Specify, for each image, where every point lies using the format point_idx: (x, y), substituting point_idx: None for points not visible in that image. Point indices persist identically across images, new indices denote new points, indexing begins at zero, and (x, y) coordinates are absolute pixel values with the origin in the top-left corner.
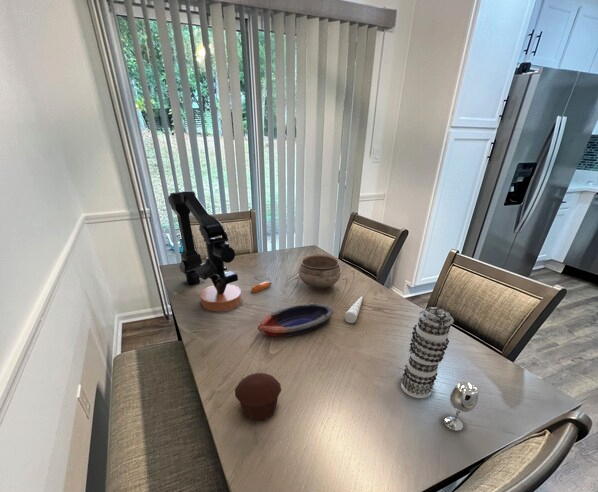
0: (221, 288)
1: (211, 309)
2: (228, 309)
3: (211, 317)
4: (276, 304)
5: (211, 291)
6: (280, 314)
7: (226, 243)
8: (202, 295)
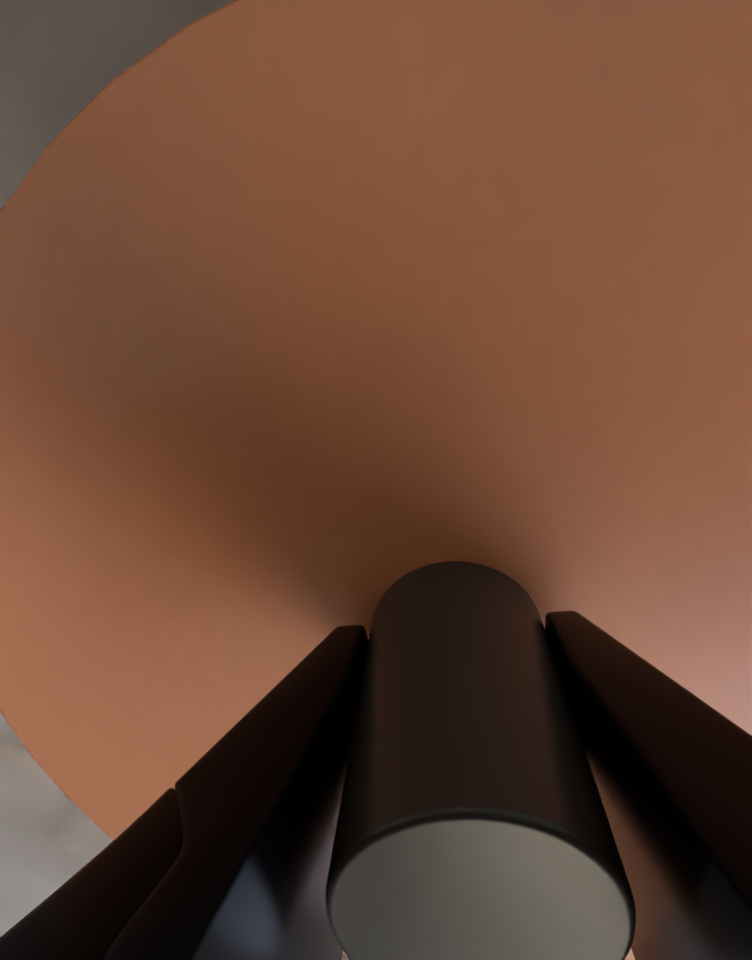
0: (218, 760)
1: None
2: None
3: (28, 66)
4: (11, 920)
5: (721, 499)
6: None
7: None
8: (701, 96)
